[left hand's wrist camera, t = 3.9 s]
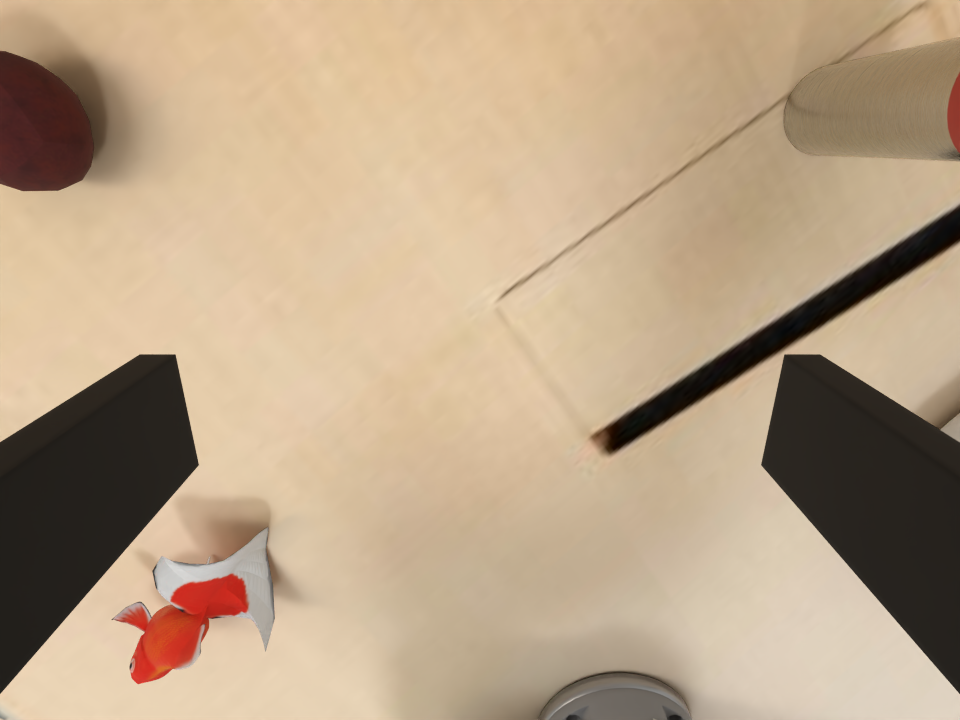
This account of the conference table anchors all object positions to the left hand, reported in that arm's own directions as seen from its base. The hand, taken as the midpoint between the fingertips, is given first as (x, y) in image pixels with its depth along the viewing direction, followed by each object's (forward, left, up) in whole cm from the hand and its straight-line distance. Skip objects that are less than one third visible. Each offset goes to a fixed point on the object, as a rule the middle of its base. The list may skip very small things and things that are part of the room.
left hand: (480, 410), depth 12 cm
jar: (+7, -22, -28) cm, 36 cm away
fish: (-29, +23, -28) cm, 46 cm away
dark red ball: (+6, +27, -28) cm, 39 cm away
